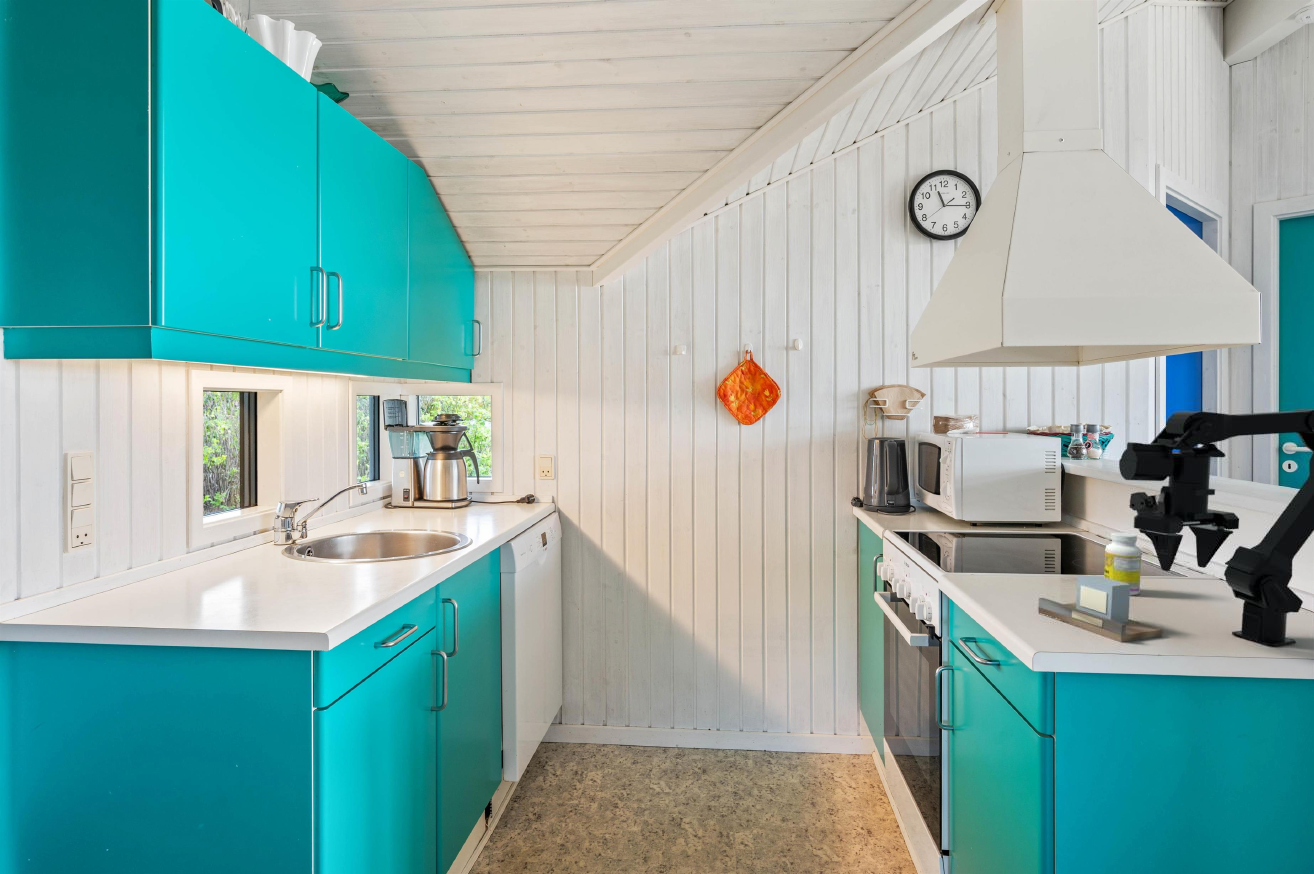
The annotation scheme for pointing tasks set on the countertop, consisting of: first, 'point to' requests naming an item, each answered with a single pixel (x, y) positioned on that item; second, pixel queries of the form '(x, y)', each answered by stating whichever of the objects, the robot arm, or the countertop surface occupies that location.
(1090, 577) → the carton
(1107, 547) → the supplement bottle
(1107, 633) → the shelf board
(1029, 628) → the countertop surface
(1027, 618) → the countertop surface
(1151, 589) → the countertop surface
